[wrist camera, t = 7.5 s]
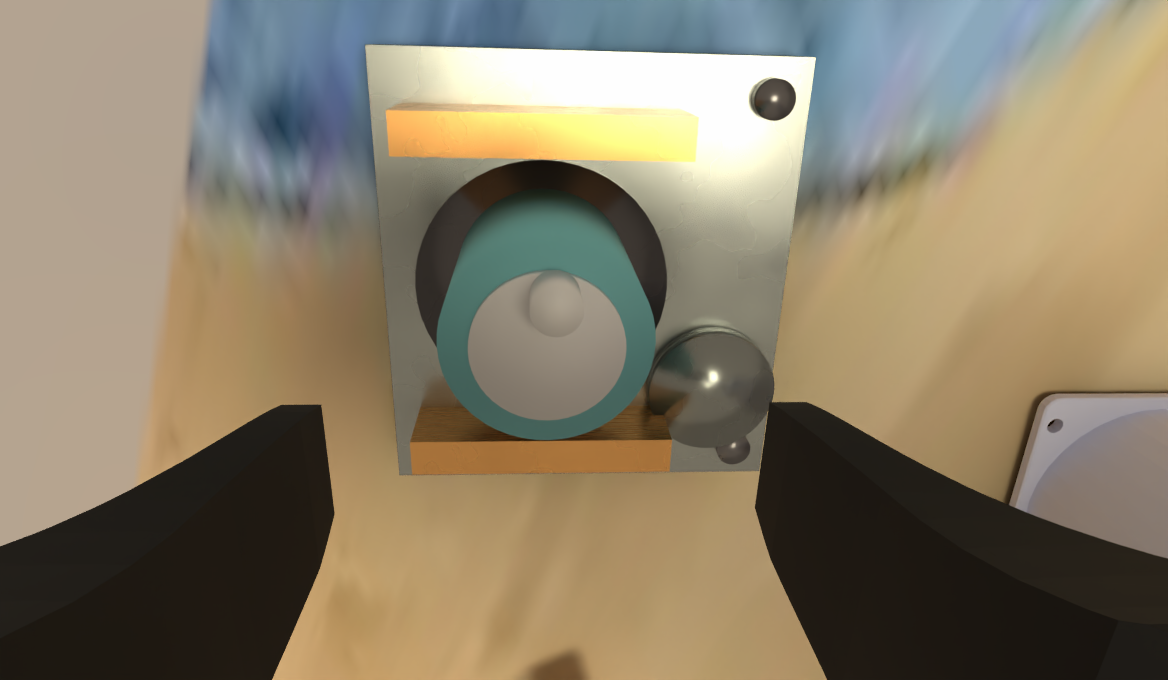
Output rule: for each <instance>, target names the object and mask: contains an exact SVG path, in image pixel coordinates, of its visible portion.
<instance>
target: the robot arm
mask: <svg viewBox="0 0 1168 680" xmlns="http://www.w3.org/2000/svg"><path fill="white" fill-rule="evenodd" d="M1054 419H1055V421H1054V423H1053V424H1052V425H1050V426H1049V427H1047V426H1048V424H1049V423H1050V422H1051V421H1052V420H1054ZM755 509H756V512H757V516H758V519H759V523H760V526H761V530H762V533H763V537H764V540H765V543H766V546H767V549H768V552H769V555H770V558H771V561H772V563H773V565H774V568H775V570H776V572H777V574H778V576H779V579H780V581H781V583H782V585H783V587H784V589H785V591H786V594H787V596H788V598H789V600H790V602H791V604H792V606H793V608H794V611H795V613H796V615H797V617H798V619H799V621H800V623H801V625H802V627H803V629H804V632H805V634H806V636H807V638H808V640H809V642H810V644H811V646H812V648H813V650H814V653H815V655H816V657H817V659H818V661H819V663H820V665H821V667H822V669H823V671H824V674H825V676H826V678H827V680H1168V393H1112V394H1052V395H1049V396H1048V397H1046V398H1044V399H1043V400H1042V401H1041V402H1040V404H1039V406H1038V409H1037V412H1036V415H1035V419H1034V422H1033V426H1032V429H1031V432H1030V436H1029V439H1028V443H1027V446H1026V449H1025V453H1024V456H1023V460H1022V463H1021V466H1020V470H1019V473H1018V476H1017V480H1016V483H1015V487H1014V490H1013V493H1012V497H1011V500H1010V504H1009V505H1008V504H1005V503H1003V502H1000V501H998V500H995V499H993V498H991V497H988V496H986V495H984V494H981V493H979V492H977V491H975V490H973V489H970V488H968V487H966V486H964V485H962V484H960V483H958V482H956V481H954V480H952V479H950V478H948V477H946V476H944V475H942V474H940V473H938V472H936V471H934V470H932V469H930V468H928V467H926V466H924V465H922V464H920V463H918V462H916V461H915V460H913V459H911V458H909V457H907V456H905V455H903V454H902V453H900V452H898V451H896V450H894V449H893V448H891V447H889V446H887V445H885V444H884V443H882V442H880V441H878V440H877V439H875V438H873V437H871V436H870V435H868V434H866V433H864V432H863V431H861V430H859V429H857V428H855V427H854V426H852V425H850V424H848V423H847V422H845V421H843V420H841V419H840V418H838V417H836V416H834V415H832V414H830V413H828V412H827V411H825V410H823V409H821V408H818V407H816V406H814V405H812V404H809V403H807V402H770V403H769V410H768V418H767V425H766V432H765V439H764V447H763V454H762V461H761V468H760V476H759V483H758V490H757V497H756V504H755ZM333 518H334V506H333V498H332V489H331V481H330V473H329V465H328V457H327V448H326V440H325V432H324V424H323V416H322V408H321V405H280V406H278V407H276V408H274V409H272V410H270V411H268V412H266V413H264V414H262V415H260V416H259V417H257V418H255V419H253V420H252V421H250V422H248V423H247V424H245V425H243V426H241V427H240V428H238V429H236V430H235V431H233V432H232V433H230V434H228V435H227V436H225V437H223V438H221V439H220V440H218V441H216V442H215V443H213V444H211V445H210V446H208V447H206V448H205V449H203V450H201V451H200V452H198V453H196V454H195V455H193V456H191V457H190V458H188V459H186V460H184V461H183V462H181V463H179V464H177V465H175V466H173V467H172V468H170V469H168V470H166V471H164V472H162V473H161V474H159V475H157V476H155V477H153V478H151V479H149V480H148V481H146V482H144V483H142V484H140V485H138V486H137V487H135V488H133V489H131V490H129V491H127V492H125V493H123V494H121V495H119V496H117V497H115V498H113V499H111V500H109V501H107V502H105V503H103V504H101V505H99V506H97V507H95V508H93V509H91V510H88V511H86V512H84V513H81V514H79V515H77V516H75V517H72V518H70V519H68V520H66V521H63V522H61V523H59V524H57V525H55V526H52V527H50V528H47V529H45V530H42V531H40V532H38V533H35V534H33V535H30V536H27V537H24V538H22V539H19V540H16V541H14V542H11V543H8V544H6V545H3V546H0V680H272V678H273V676H274V674H275V671H276V669H277V667H278V665H279V662H280V660H281V658H282V655H283V653H284V651H285V649H286V646H287V644H288V642H289V639H290V637H291V635H292V633H293V630H294V628H295V626H296V623H297V621H298V619H299V616H300V614H301V612H302V610H303V607H304V605H305V602H306V600H307V598H308V595H309V593H310V591H311V588H312V586H313V584H314V581H315V579H316V576H317V574H318V572H319V569H320V566H321V563H322V559H323V556H324V552H325V549H326V545H327V541H328V537H329V533H330V529H331V526H332V522H333Z"/></svg>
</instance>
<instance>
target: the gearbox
mask: <svg viewBox="0 0 1168 680" xmlns="http://www.w3.org/2000/svg"><path fill="white" fill-rule="evenodd" d="M365 49H366V62H367V74H368V87H369V99H370V112H371V124H372V137H373V149H374V162H375V174H376V187H377V199H378V212H379V224H380V237H381V249H382V262H383V274H384V287H385V299H386V312H387V324H388V337H389V349H390V362H391V375H392V387H393V400H394V412H395V425H396V437H397V450H398V462H399V475H465V474H548V473H631V472H714V471H759V467H760V459H761V452H762V445H763V438H764V430H765V423H766V416H767V412H768V410H769V403H770V402H772V399H773V394H774V378H773V373H772V372H773V365H774V358H775V351H776V343H777V336H778V329H779V321H780V314H781V307H782V300H783V292H784V285H785V278H786V271H787V263H788V256H789V249H790V242H791V234H792V227H793V220H794V213H795V205H796V198H797V191H798V183H799V176H800V169H801V162H802V154H803V147H804V140H805V133H806V125H807V118H808V111H809V104H810V96H811V89H812V82H813V75H814V67H815V60H816V57H803V56H781V55H745V54H710V53H675V52H639V51H604V50H569V49H534V48H498V47H463V46H428V45H392V44H369V45H365ZM530 189H554V190H559V191H565V192H568V193H571V194H574V195H576V196H578V197H580V198H582V199H584V200H586V201H588V202H589V203H591V204H592V205H594V206H595V207H596V208H597V209H599V210H600V211H601V212H602V213H603V214H604V215H605V216H606V217H607V219H608V220H609V221H610V222H611V223H612V225H613V227H614V228H615V230H616V231H617V233H618V235H619V237H620V240H621V242H622V244H623V246H624V248H625V251H626V253H627V255H628V257H629V260H630V262H631V264H632V266H633V268H634V271H635V273H636V275H637V277H638V280H639V282H640V284H641V286H642V288H643V291H644V293H645V295H646V297H647V300H648V302H649V304H650V307H651V310H652V314H653V317H654V323H655V329H656V345H655V353H654V358H653V362H652V366H651V369H650V372H649V374H648V376H647V379H646V381H645V383H644V385H643V386H642V388H641V390H640V391H639V393H638V394H637V395H636V397H635V398H634V399H633V401H632V402H631V403H630V404H629V405H628V406H627V407H626V408H625V409H624V410H623V411H622V412H621V413H619V414H618V415H617V416H616V417H614V418H613V419H612V420H610V421H609V422H607V423H605V424H604V425H602V426H600V427H598V428H596V429H594V430H592V431H590V432H587V433H584V434H581V435H578V436H575V437H570V438H565V439H557V440H533V439H526V438H520V437H516V436H513V435H509V434H506V433H504V432H501V431H499V430H496V429H494V428H492V427H491V426H489V425H487V424H485V423H483V422H482V421H481V420H479V419H478V418H476V417H475V416H474V415H472V414H471V413H470V412H469V411H468V410H467V409H466V408H465V407H464V406H463V405H462V404H461V403H460V401H459V400H458V399H457V398H456V397H455V395H454V394H453V392H452V391H451V389H450V387H449V386H448V384H447V382H446V380H445V377H444V375H443V373H442V370H441V366H440V363H439V359H438V352H437V328H438V321H439V317H440V313H441V310H442V307H443V304H444V300H445V297H446V294H447V291H448V288H449V285H450V282H451V279H452V276H453V273H454V269H455V266H456V263H457V260H458V257H459V254H460V251H461V248H462V245H463V242H464V239H465V237H466V235H467V233H468V231H469V230H470V228H471V226H472V225H473V223H474V222H475V221H476V220H477V218H478V217H479V216H480V215H481V214H482V213H483V212H484V211H485V210H486V209H487V208H488V207H490V206H491V205H493V204H494V203H496V202H497V201H499V200H501V199H503V198H505V197H507V196H509V195H511V194H514V193H517V192H520V191H525V190H530Z"/></svg>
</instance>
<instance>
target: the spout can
mask: <svg viewBox="0 0 1168 680" xmlns="http://www.w3.org/2000/svg"><path fill="white" fill-rule="evenodd" d="M655 345H656V329H655V323H654V317H653V314H652V310H651V307H650V304H649V302H648V300H647V297H646V295H645V293H644V291H643V288H642V286H641V284H640V282H639V280H638V277H637V275H636V273H635V271H634V268H633V266H632V264H631V262H630V260H629V257H628V255H627V253H626V251H625V248H624V246H623V244H622V242H621V240H620V237H619V235H618V233H617V231H616V230H615V228H614V227H613V225H612V223H611V222H610V221H609V220H608V219H607V217H606V216H605V215H604V214H603V213H602V212H601V211H600V210H599V209H597V208H596V207H595V206H594V205H592V204H591V203H589V202H588V201H586V200H584V199H582V198H580V197H578V196H576V195H574V194H571V193H568V192H565V191H559V190H554V189H530V190H525V191H520V192H517V193H514V194H511V195H509V196H507V197H505V198H503V199H501V200H499V201H497V202H496V203H494V204H493V205H491V206H490V207H488V208H487V209H486V210H485V211H484V212H483V213H482V214H481V215H480V216H479V217H478V218H477V220H476V221H475V222H474V223H473V225H472V226H471V228H470V230H469V231H468V233H467V235H466V237H465V239H464V242H463V245H462V248H461V251H460V254H459V257H458V260H457V263H456V266H455V269H454V273H453V276H452V279H451V282H450V285H449V288H448V291H447V294H446V297H445V300H444V304H443V307H442V310H441V313H440V317H439V321H438V328H437V352H438V359H439V363H440V366H441V370H442V373H443V375H444V377H445V380H446V382H447V384H448V386H449V387H450V389H451V391H452V392H453V394H454V395H455V397H456V398H457V399H458V400H459V401H460V403H461V404H462V405H463V406H464V407H465V408H466V409H467V410H468V411H469V412H470V413H471V414H472V415H474V416H475V417H476V418H478V419H479V420H481V421H482V422H483V423H485V424H487V425H489V426H491V427H492V428H494V429H496V430H499V431H501V432H504V433H506V434H509V435H513V436H516V437H520V438H526V439H533V440H557V439H565V438H570V437H575V436H578V435H581V434H584V433H587V432H590V431H592V430H594V429H596V428H598V427H600V426H602V425H604V424H605V423H607V422H609V421H610V420H612V419H613V418H614V417H616V416H617V415H618V414H619V413H621V412H622V411H623V410H624V409H625V408H626V407H627V406H628V405H629V404H630V403H631V402H632V401H633V399H634V398H635V397H636V395H637V394H638V393H639V391H640V390H641V388H642V386H643V385H644V383H645V381H646V379H647V376H648V374H649V372H650V369H651V366H652V362H653V358H654V353H655Z"/></svg>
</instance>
